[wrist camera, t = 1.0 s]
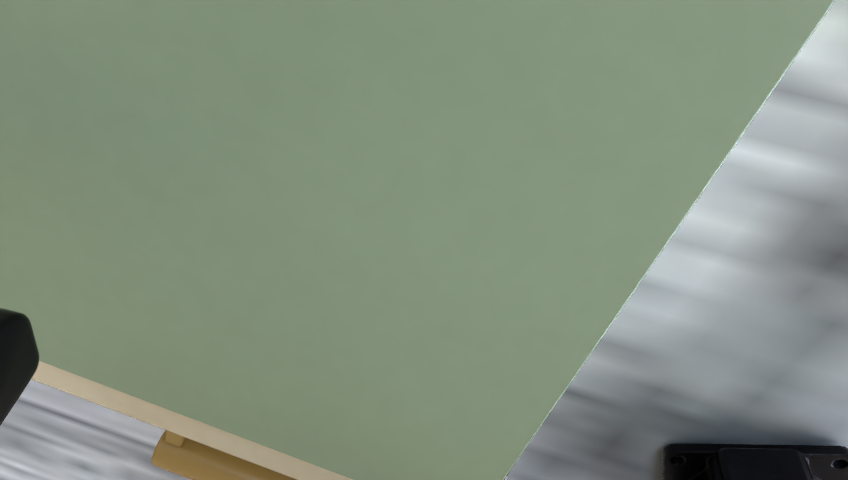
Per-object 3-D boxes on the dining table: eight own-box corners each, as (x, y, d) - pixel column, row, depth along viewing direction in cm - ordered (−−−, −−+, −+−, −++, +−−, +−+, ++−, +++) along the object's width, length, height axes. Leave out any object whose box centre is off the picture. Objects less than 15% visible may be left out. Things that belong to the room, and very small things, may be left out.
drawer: (416, 451, 27) (377, 614, 21) (143, 347, 26) (30, 484, 21) (635, 38, 16) (669, 146, 11) (187, -141, 16) (-13, -125, 10)
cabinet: (501, 316, 23) (472, 525, 16) (153, 181, 23) (-28, 336, 16) (722, -89, 15) (850, -20, 8) (195, -303, 15) (-129, -416, 8)
